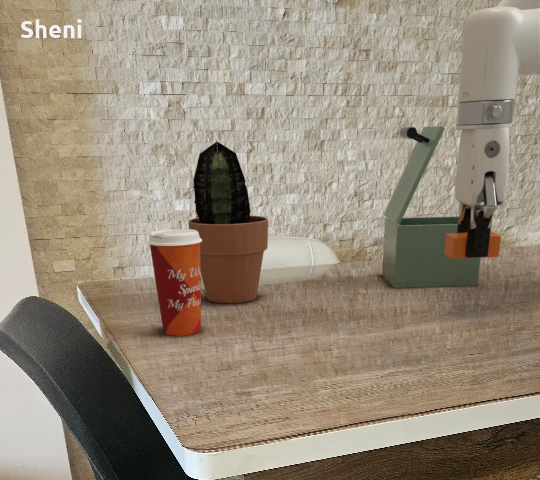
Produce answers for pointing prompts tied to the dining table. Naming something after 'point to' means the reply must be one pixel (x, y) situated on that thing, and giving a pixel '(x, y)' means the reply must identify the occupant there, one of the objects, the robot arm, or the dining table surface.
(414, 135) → the bin lid
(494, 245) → the block
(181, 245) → the paper cup
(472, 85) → the robot arm
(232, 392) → the dining table surface
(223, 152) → the potted plant
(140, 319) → the dining table surface
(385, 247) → the waste bin
